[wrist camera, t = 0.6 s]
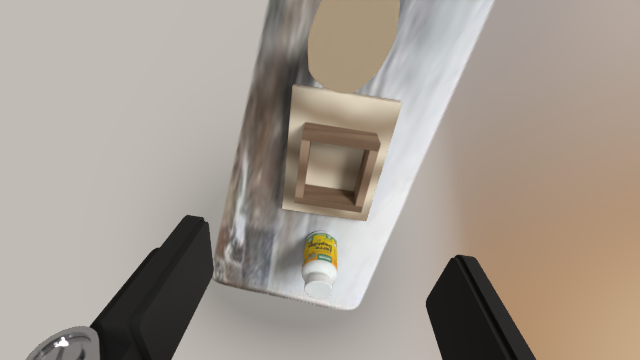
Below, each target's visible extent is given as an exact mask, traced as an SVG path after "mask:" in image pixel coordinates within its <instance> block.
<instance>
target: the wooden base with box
mask: <svg viewBox="0 0 640 360" xmlns="http://www.w3.org/2000/svg"><path fill="white" fill-rule="evenodd" d="M401 106H402V103H401V102H400V101H398V100H392V99H386V98H380V97H374V96H367V95H361V94H355V93H338V92H334V91H331V90H329V89H324V88H318V87H312V86H305V85H299V84H294V85H293V86H292V98H291V110H290V122H289V134H288V145H287V157H286V169H285V181H284V193H283V205H282V209H287V210H294V211H301V212H308V213H314V214H321V215H328V216H335V217H341V218H348V219H355V220H362V221H366V220H367V217H368V214H369V211H370V207H371V204H372V201H373V197H374V194H375V191H376V188H377V184H378V181H379V178H380V175H381V171H382V168H383V165H384V161H385V158H386V155H387V152H388V148H389V145H390V142H391V138H392V135H393V132H394V129H395V125H396V122H397V119H398V116H399V112H400V109H401Z"/></svg>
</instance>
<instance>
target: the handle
mask: <svg viewBox="0 0 640 360" xmlns="http://www.w3.org/2000/svg"><path fill="white" fill-rule="evenodd" d="M399 8H400V1H399V0H322V2H321V4H320V6H319V8H318V10H317V13H316V16H315V18H314V21H313V24H312V26H311V29H310V33H309V37H308V65H309V71H310V73H311V75H312V76H313V77H314V79H315V80H316V81H317V82H318V83H319V84H321V85H322V86H324V87H325V88H327V89H329V90H331V91H334V92H338V93H354V92H356V91H357V90H358V89H359V88H361V87H362V86H363V85H364V84H366V83H367V82H368V81H369V80H370V79H372V78H373V76H374V75H375V74H376V73H377V72H378V71H379V69H380V68H381V66H382V65H383V63H384V61H385V59H386V57H387V55H388V53H389V51H390V50H391V47H392V45H393V43H394V40H395V37H396V32H397V26H398V18H399Z"/></svg>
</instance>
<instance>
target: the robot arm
mask: <svg viewBox="0 0 640 360" xmlns="http://www.w3.org/2000/svg"><path fill="white" fill-rule="evenodd" d="M213 271H214V267H213V259H212V250H211V241H210V232H209V224H208V222H205V221H204V218H203V217H197V216H191V215H187V216H185V217H184V218H183V219H182V220H181V222H180V223H179V224H178V225H177V227H176V228H175V229H174V230H173V232H172V233H171V234H170V236H169V237H168V238H167V239H166V241H165V242H164V243H163V244H162V246H161V247H160V248H156V249H154V250H152V251H151V252H150V253H149V255H148V256H147V257H146V258H145V260H144V261H143V262H142V263H141V264H140V266H139V267H138V268H137V269H136V271H135V272H134V273H133V274H132V275H131V277H130V278H129V279H128V280H127V282H126V283H125V284H124V285H123V286H122V288H121V289H120V290H119V291H118V292H117V294H116V295H115V296H114V297H113V299H112V300H111V301H110V302H109V303H108V305H107V306H106V307H105V308H104V310H103V311H102V312H101V313H100V314H99V316H98V317H97V318H96V319H95V321H94V322H93V323H92V324H91V325H90V327H85V326H79V327H72V328H69V329H66V330H62V331H61V332H59V333H57V334H54V335H53V336H51V337H49V338H48V339H46V340H45V341H44V342H42V343H41V344H39V345H38V346H37V347H36V348H35V349H34V350H33V351H32V352H31V353H30V354H29V356H28V357H27V359H26V360H171V359H172V357H173V355H174V353H175V351H176V349H177V347H178V345H179V343H180V341H181V339H182V337H183V334H184V333H185V330H186V329H187V327H188V325H189V323H190V320H191V319H192V317H193V315H194V312H195V310H196V308H197V306H198V304H199V302H200V300H201V298H202V296H203V294H204V292H205V290H206V288H207V286H208V284H209V282H210V280H211V278H212V275H213ZM426 308H427V312H428V315H429V318H430V321H431V324H432V327H433V331H434V334H435V337H436V340H437V344H438V347H439V350H440V353H441V356H442V359H443V360H536V358H535V357H534V355H533V353H532V352H531V350H530V348H529V347H528V345H527V343H526V342H525V340H524V338H523V336H522V335H521V333H520V331H519V330H518V328H517V326H516V325H515V323H514V322H513V320H512V318H511V316H510V315H509V313H508V311H507V310H506V308H505V306H504V305H503V303H502V301H501V300H500V298H499V296H498V294H497V293H496V291H495V289H494V288H493V286H492V284H491V283H490V281H489V279H488V278H487V276H486V274H485V273H484V271H483V269H482V268H481V266H480V264H479V263H478V261H477V260H476V258H474V257H471V256H464V255H456V256H455V257H454V258H451V259H450V261H449V262H448V264H447V266H446V267H445V269H444V271H443V272H442V274H441V276H440V277H439V279H438V281H437V282H436V284H435V286H434V287H433V289H432V291H431V293H430V294H429V296H428V298H427V300H426Z"/></svg>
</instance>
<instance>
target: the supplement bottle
mask: <svg viewBox="0 0 640 360" xmlns="http://www.w3.org/2000/svg"><path fill="white" fill-rule="evenodd" d="M302 277H303V279H304V281H305V287H304V290H305V293H306V294H307V295H308V296H309V297H311V298H315V299H324V298H327V297H329V296H330V295H331V294H332V292H333V282H334V281H335V280H336V278H337V241H336V239H335V237H334V236H333V235H332V234H330V233H328V232H325V231H317V232H314V233H312V234H310V235H309V236H308V237H307V239H306V242H305V250H304V258H303V265H302Z"/></svg>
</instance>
